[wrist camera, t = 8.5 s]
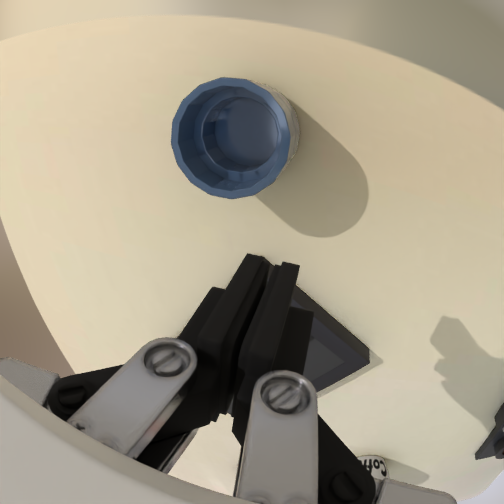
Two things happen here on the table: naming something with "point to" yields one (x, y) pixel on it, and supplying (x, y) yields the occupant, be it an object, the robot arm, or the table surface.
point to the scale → (500, 419)
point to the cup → (375, 466)
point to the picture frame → (327, 346)
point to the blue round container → (234, 136)
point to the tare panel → (492, 446)
